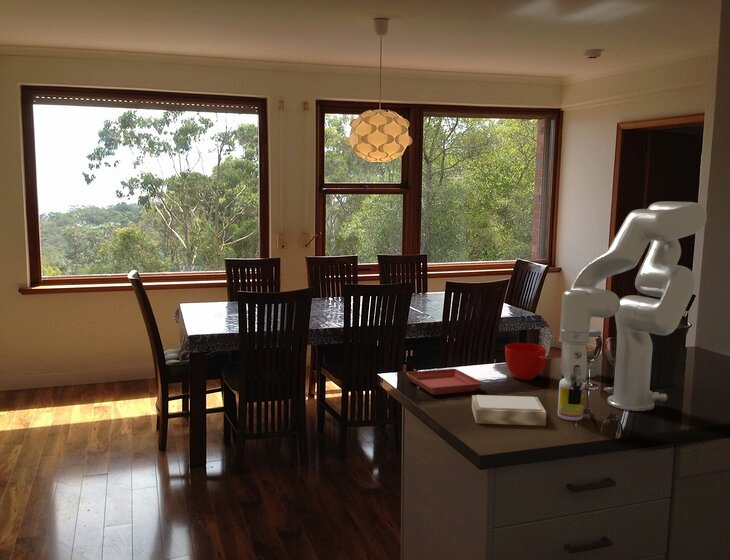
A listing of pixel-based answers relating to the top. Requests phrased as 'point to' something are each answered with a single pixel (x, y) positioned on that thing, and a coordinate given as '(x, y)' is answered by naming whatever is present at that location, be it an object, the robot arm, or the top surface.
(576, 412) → the supplement bottle
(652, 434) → the top surface
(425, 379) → the plant saucer
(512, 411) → the birch base
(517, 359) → the ceramic cup
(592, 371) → the skincare box
